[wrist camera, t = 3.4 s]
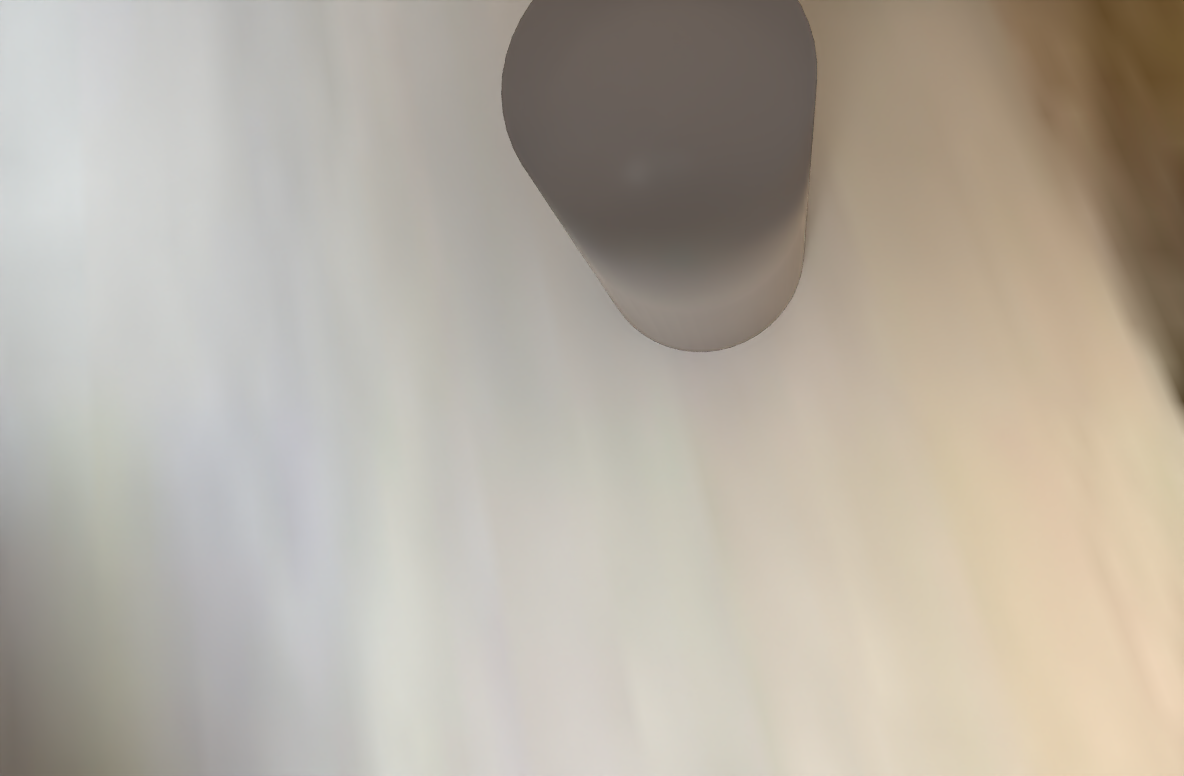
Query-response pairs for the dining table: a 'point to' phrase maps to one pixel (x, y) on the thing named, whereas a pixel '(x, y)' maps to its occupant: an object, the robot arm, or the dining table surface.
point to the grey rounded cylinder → (672, 153)
